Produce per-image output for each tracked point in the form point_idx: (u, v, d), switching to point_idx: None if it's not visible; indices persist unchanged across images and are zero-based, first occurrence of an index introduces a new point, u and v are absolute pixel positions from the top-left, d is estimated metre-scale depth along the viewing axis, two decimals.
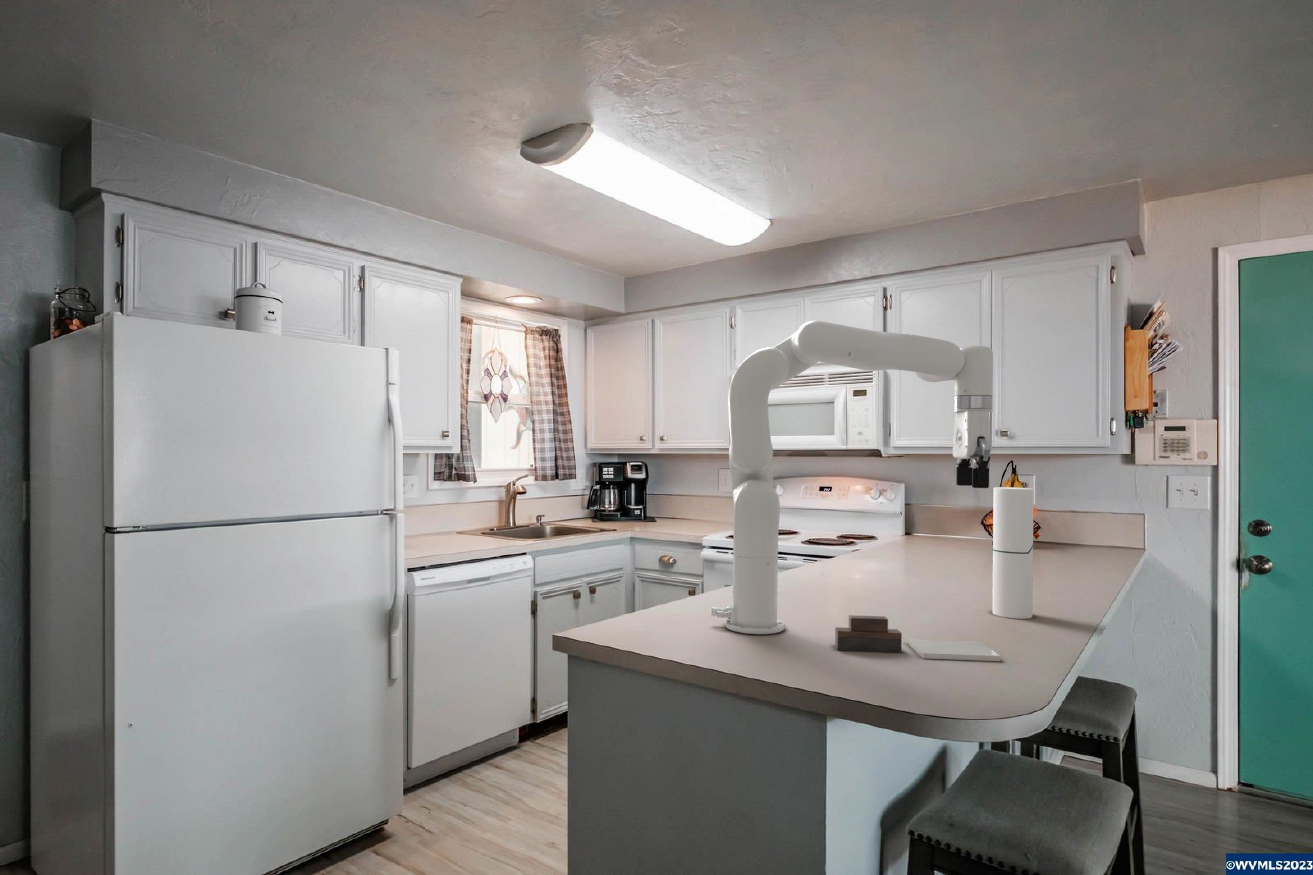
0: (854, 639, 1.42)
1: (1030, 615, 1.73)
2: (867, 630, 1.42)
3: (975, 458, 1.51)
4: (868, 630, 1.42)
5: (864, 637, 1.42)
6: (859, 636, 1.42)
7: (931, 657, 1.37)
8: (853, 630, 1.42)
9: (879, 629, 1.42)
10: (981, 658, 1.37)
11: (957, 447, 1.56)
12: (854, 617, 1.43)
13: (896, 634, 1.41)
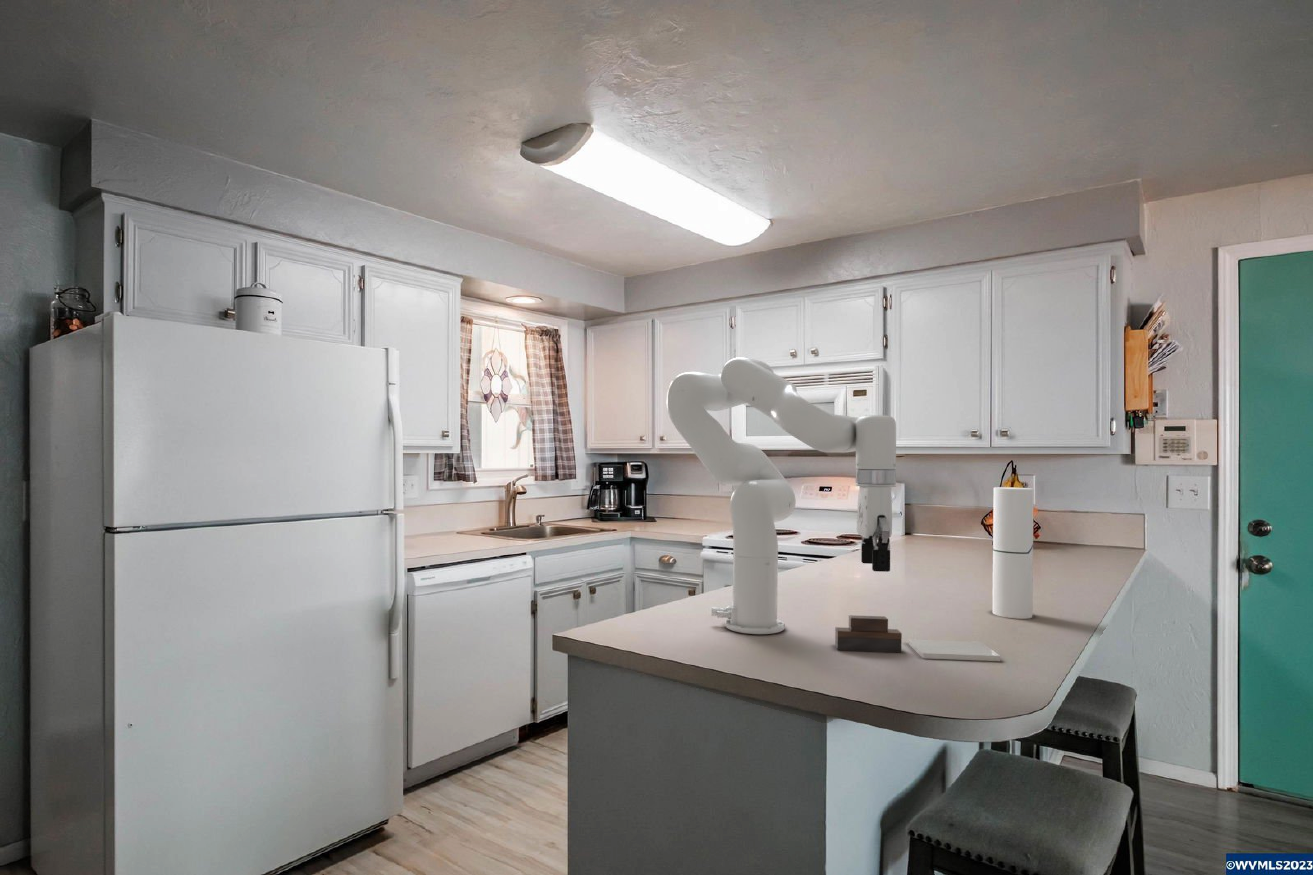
0: (854, 639, 1.42)
1: (1030, 615, 1.73)
2: (867, 630, 1.42)
3: (875, 539, 1.39)
4: (868, 630, 1.42)
5: (864, 637, 1.42)
6: (859, 636, 1.42)
7: (931, 657, 1.37)
8: (853, 630, 1.42)
9: (879, 629, 1.42)
10: (981, 658, 1.37)
11: (860, 524, 1.45)
12: (854, 617, 1.43)
13: (896, 634, 1.41)
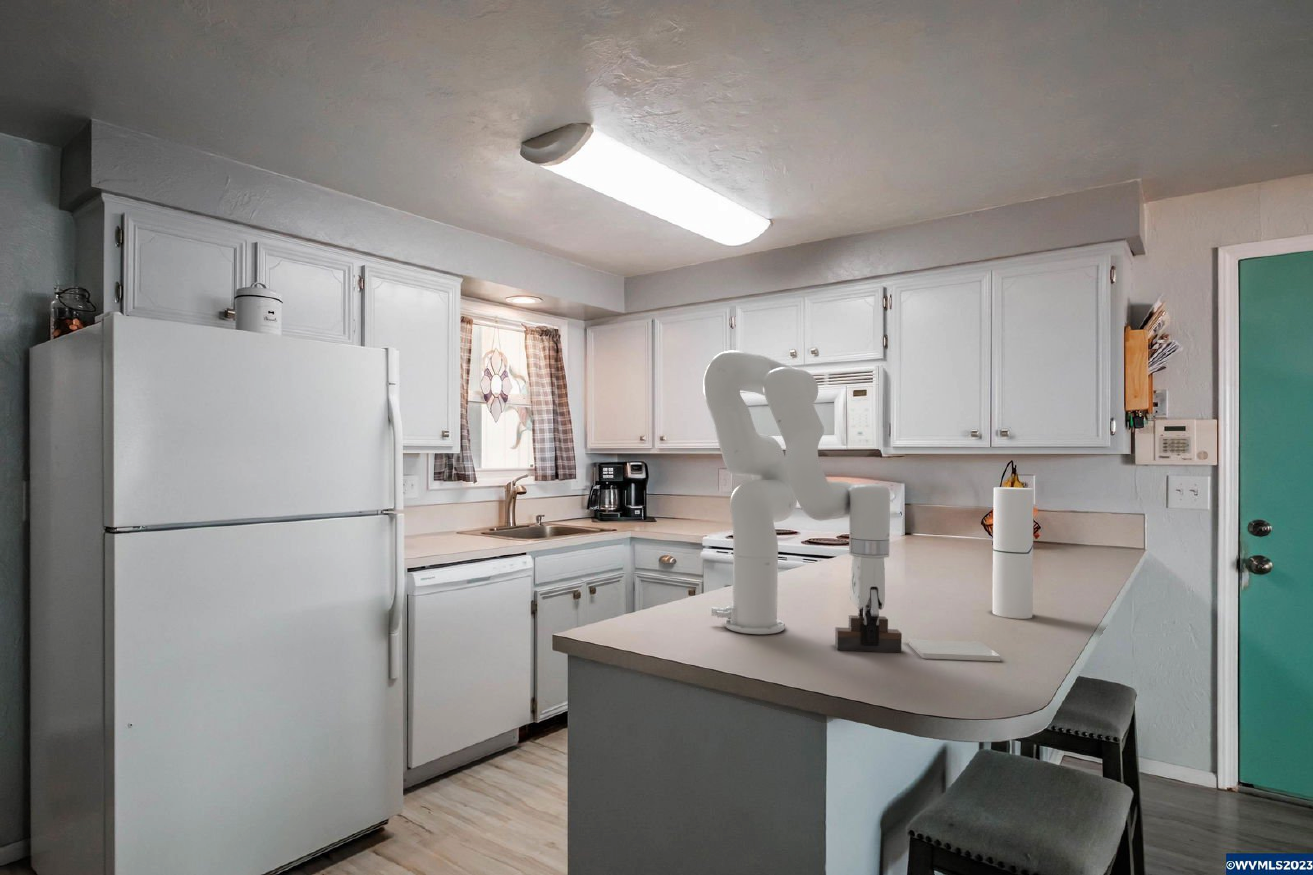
0: (854, 639, 1.42)
1: (1030, 615, 1.73)
2: None
3: (865, 615, 1.40)
4: None
5: None
6: (859, 636, 1.42)
7: (931, 657, 1.37)
8: (853, 630, 1.42)
9: (879, 629, 1.42)
10: (981, 658, 1.37)
11: (853, 593, 1.44)
12: (854, 617, 1.43)
13: (896, 634, 1.41)
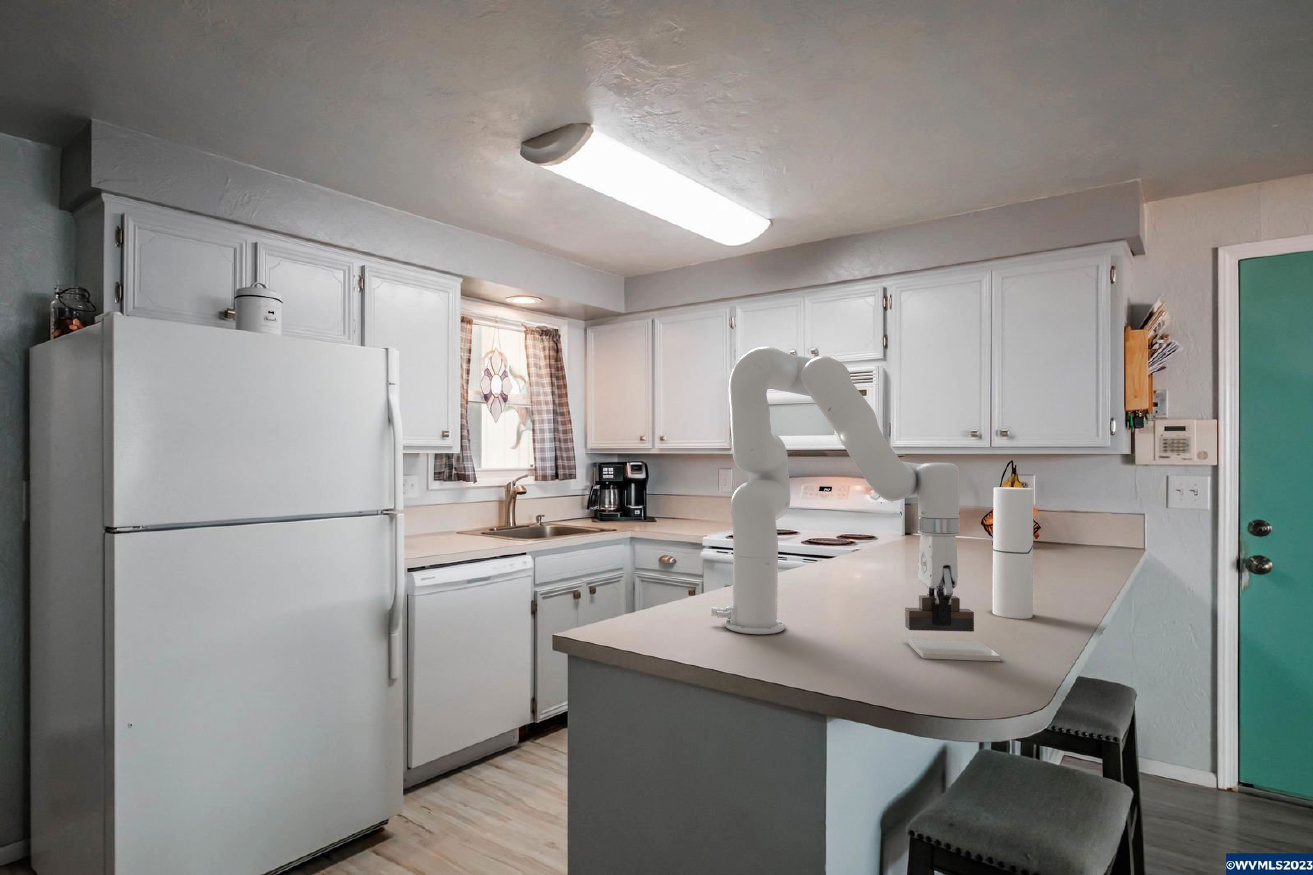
0: (926, 619, 1.41)
1: (1030, 615, 1.73)
2: None
3: (937, 594, 1.39)
4: None
5: None
6: (931, 616, 1.41)
7: (931, 657, 1.37)
8: (924, 610, 1.41)
9: (951, 608, 1.41)
10: (981, 658, 1.37)
11: (922, 573, 1.43)
12: (925, 597, 1.42)
13: (968, 613, 1.40)
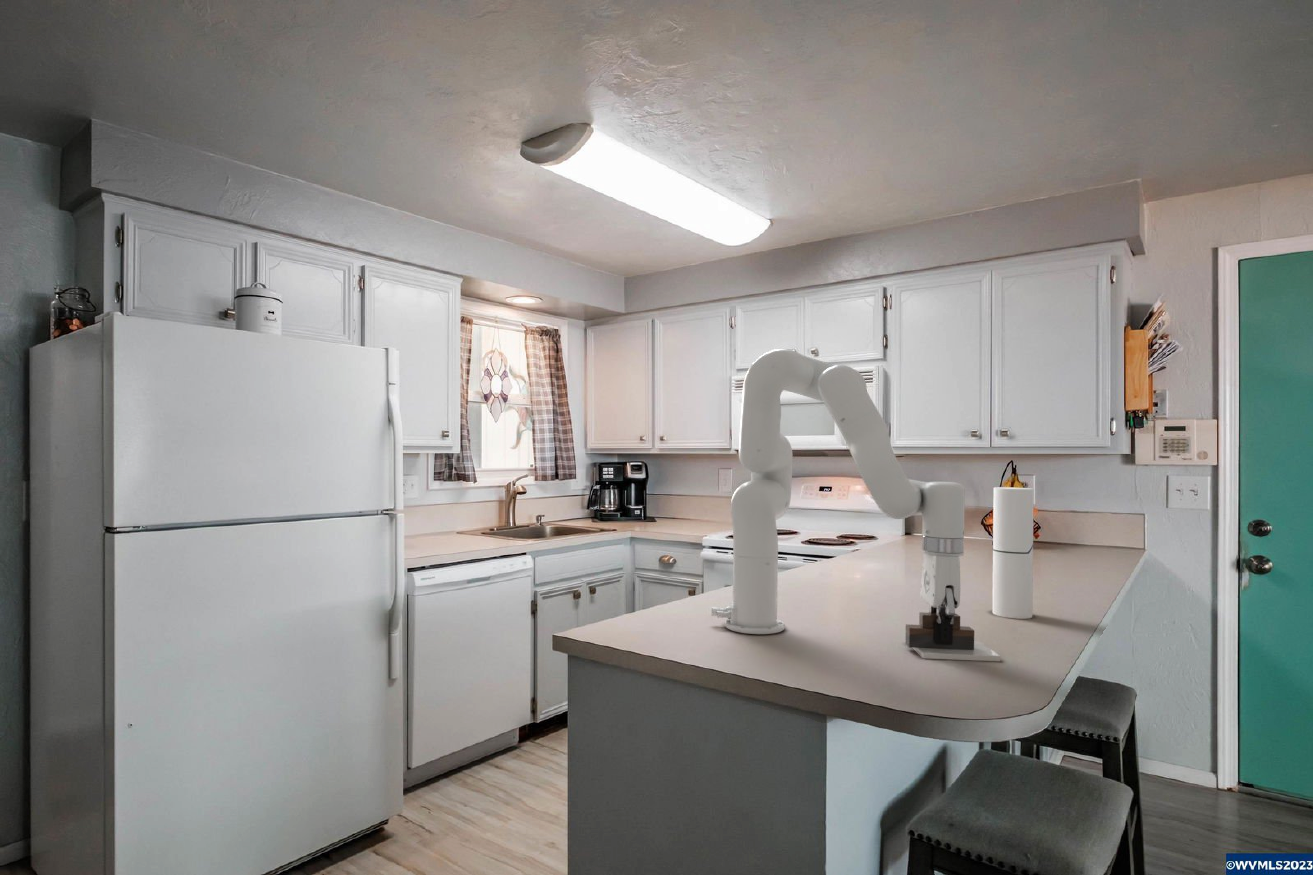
0: (926, 637, 1.41)
1: (1030, 615, 1.73)
2: None
3: (939, 613, 1.39)
4: None
5: None
6: (931, 633, 1.41)
7: (931, 657, 1.37)
8: (925, 627, 1.41)
9: None
10: (981, 658, 1.37)
11: (925, 591, 1.43)
12: (925, 614, 1.42)
13: (969, 631, 1.40)
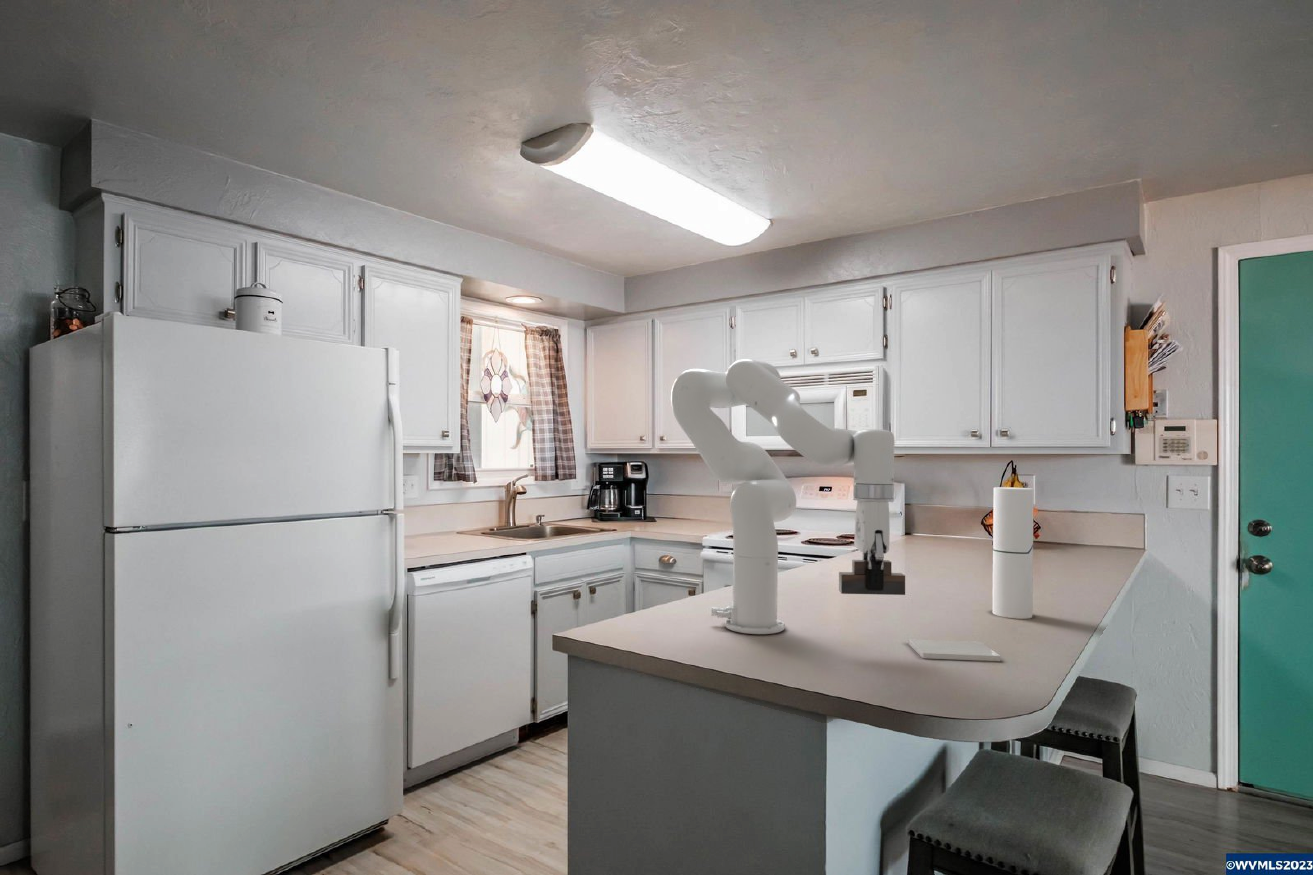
0: (858, 583, 1.42)
1: (1030, 615, 1.73)
2: None
3: (870, 559, 1.40)
4: None
5: None
6: (863, 579, 1.42)
7: (931, 657, 1.37)
8: (857, 573, 1.42)
9: None
10: (981, 658, 1.37)
11: (857, 538, 1.44)
12: (857, 561, 1.43)
13: (900, 576, 1.41)
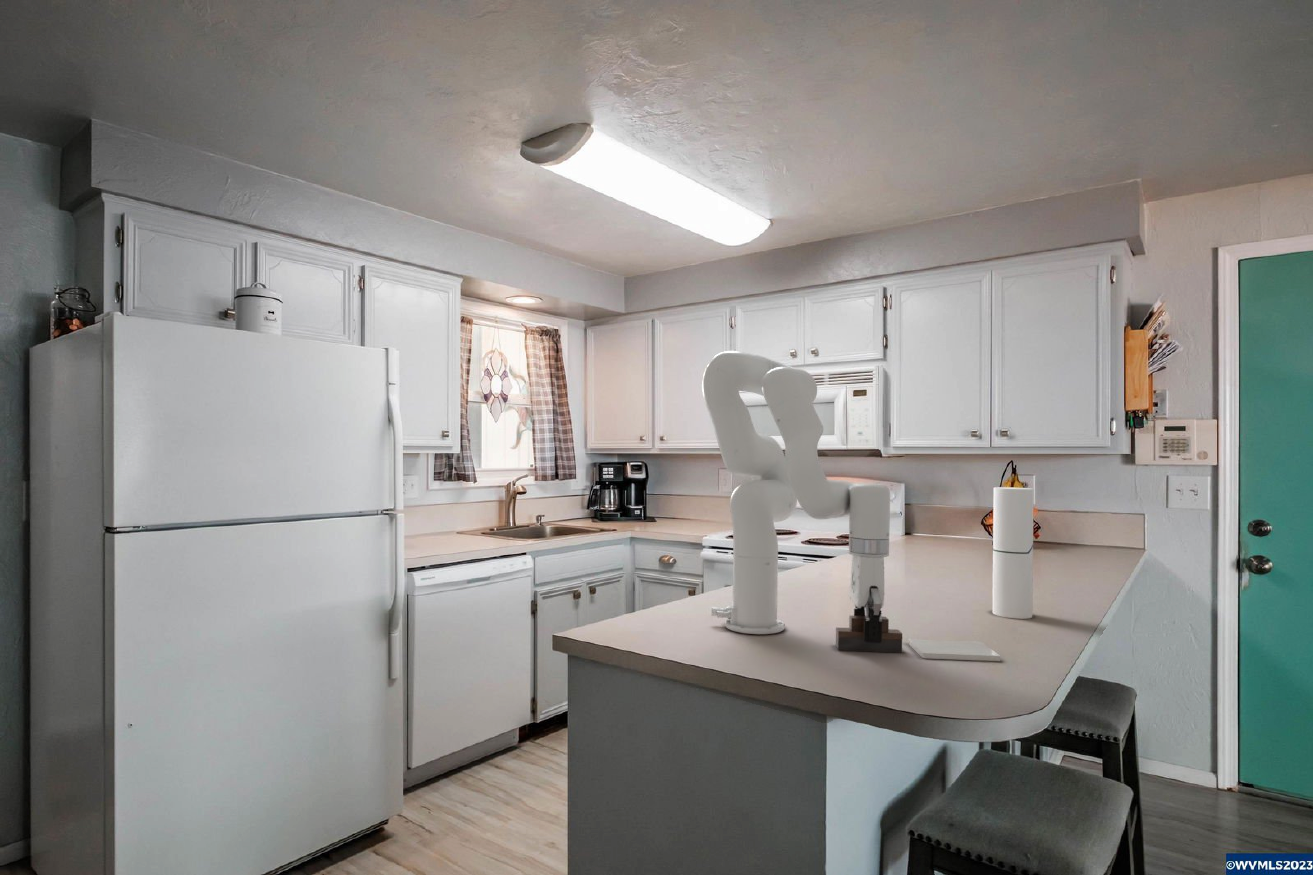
0: (855, 640, 1.42)
1: (1030, 615, 1.73)
2: None
3: (867, 610, 1.38)
4: None
5: None
6: (860, 636, 1.42)
7: (931, 657, 1.37)
8: (854, 630, 1.42)
9: None
10: (981, 658, 1.37)
11: (852, 592, 1.44)
12: (855, 617, 1.43)
13: (897, 634, 1.41)
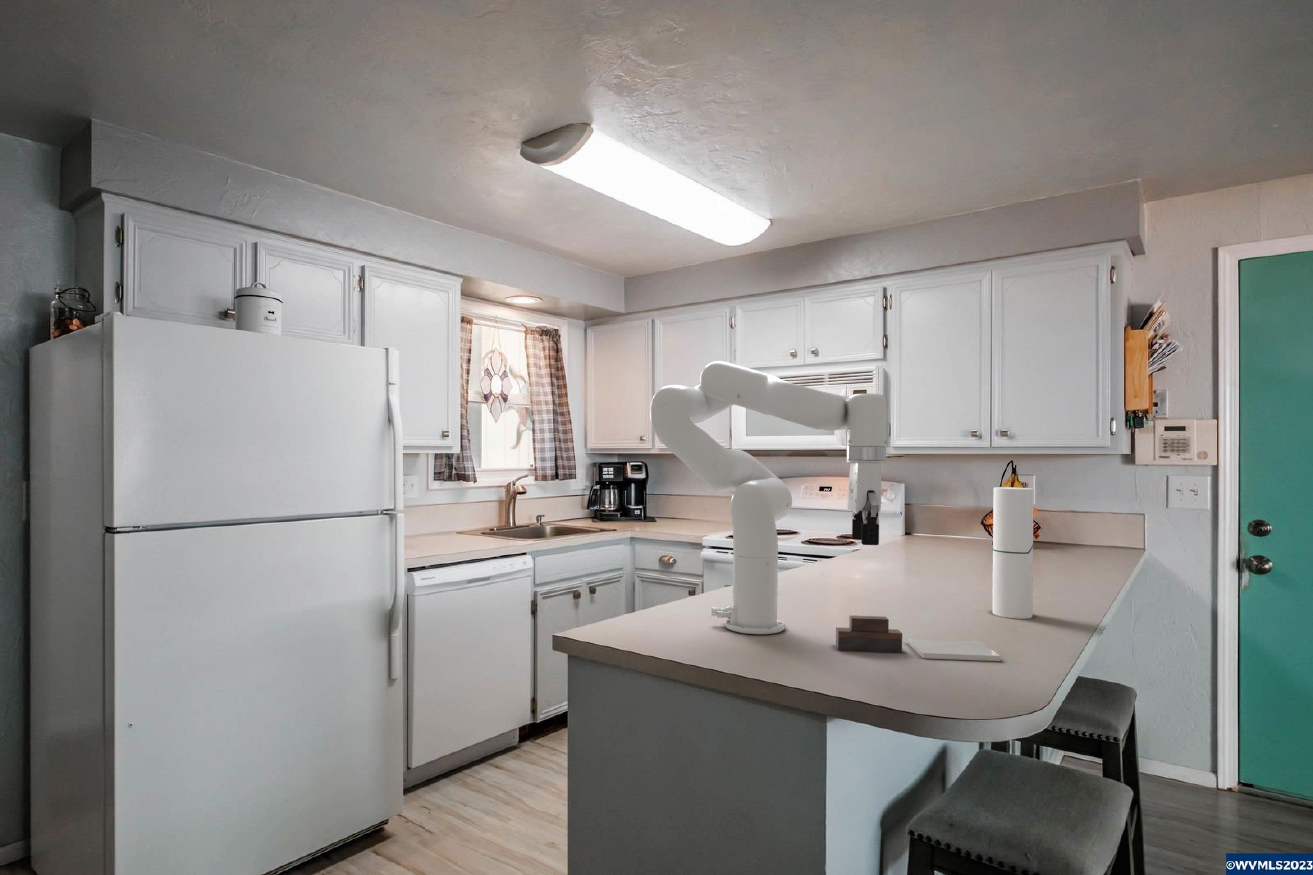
0: (855, 640, 1.42)
1: (1030, 615, 1.73)
2: (868, 630, 1.42)
3: (864, 513, 1.42)
4: (869, 630, 1.42)
5: (865, 637, 1.42)
6: (860, 636, 1.42)
7: (931, 657, 1.37)
8: (854, 630, 1.42)
9: (880, 629, 1.42)
10: (981, 658, 1.37)
11: (850, 500, 1.48)
12: (855, 617, 1.43)
13: (897, 634, 1.41)
